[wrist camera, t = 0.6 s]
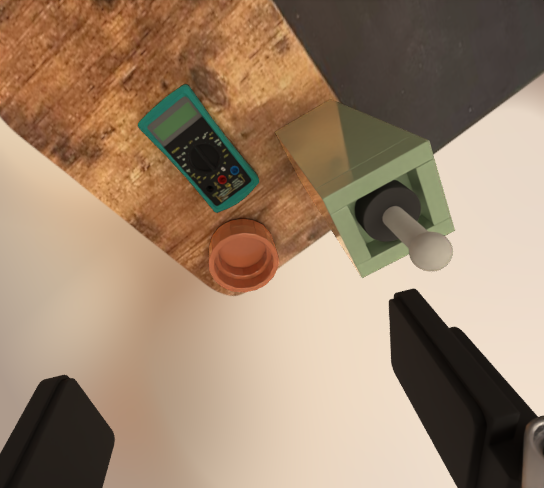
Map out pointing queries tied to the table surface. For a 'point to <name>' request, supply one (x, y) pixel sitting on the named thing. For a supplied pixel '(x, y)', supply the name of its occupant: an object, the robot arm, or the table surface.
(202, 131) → the digital multimeter
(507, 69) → the table surface
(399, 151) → the green tall hollow block
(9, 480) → the robot arm
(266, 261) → the basin bowl
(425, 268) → the stopper
